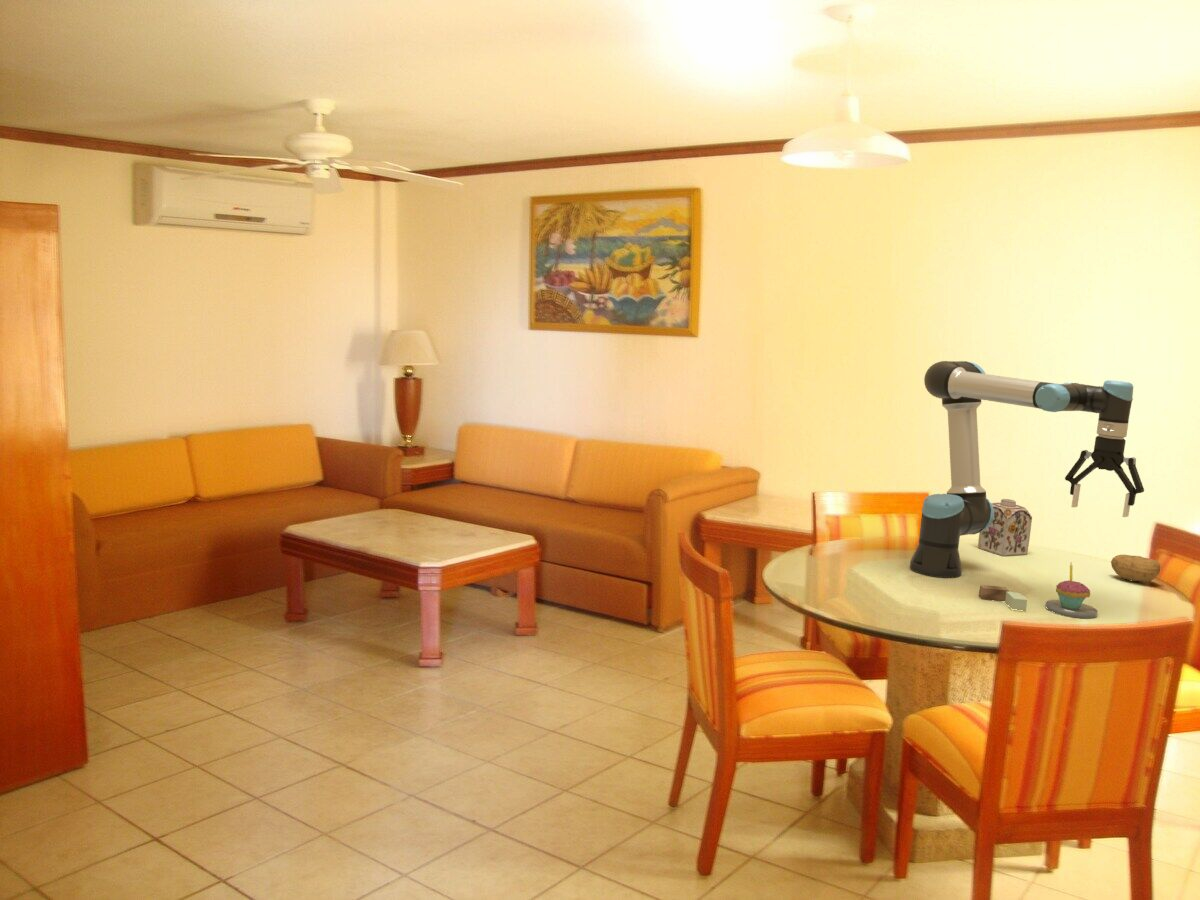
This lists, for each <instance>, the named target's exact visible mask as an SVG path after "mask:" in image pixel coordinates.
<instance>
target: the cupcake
mask: <svg viewBox="0 0 1200 900" xmlns="http://www.w3.org/2000/svg"><path fill="white" fill-rule="evenodd" d="M1073 567H1074V565H1073V564H1072V563H1070V565H1069V580H1064V581H1061V582H1058V583H1057V584H1056V586H1055V587H1056V588H1055V592H1056V593H1057V595H1058V598H1059V600H1060V603H1061V606H1063V607H1066V608H1070V609H1079V608H1080V606H1081V604H1084V601H1085V600H1086V599H1087V598H1089V597H1090V596H1091V590H1090V589H1089V588H1088V587H1087V586H1086V585H1085V584H1084V583H1082V582H1078V581H1076V580H1075V581H1074V580H1073Z"/></svg>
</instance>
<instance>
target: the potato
mask: <svg viewBox="0 0 1200 900" xmlns="http://www.w3.org/2000/svg"><path fill="white" fill-rule="evenodd" d="M1110 565H1111V568H1112V570H1113V571H1114V572H1115V574H1116V575H1117V576H1119V577H1121V579H1124V578H1125V579H1124V580H1126V579H1128V580H1127V581H1129V580H1132V581H1139V582H1138V583H1149V582H1151V581H1153V580H1155V579H1156V578H1157V577H1158V576H1159V575H1160V572H1161V569H1162V568H1161V563H1160V562H1159V561H1157V560H1155V559H1153V558H1148V557H1144V556H1140V555H1131V554H1118V555H1115V556H1114V557H1112V559H1111V561H1110ZM1132 581H1131V582H1132Z"/></svg>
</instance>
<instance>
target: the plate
mask: <svg viewBox="0 0 1200 900" xmlns="http://www.w3.org/2000/svg"><path fill="white" fill-rule="evenodd" d="M1044 604H1045V605H1044V607H1045V606H1046V607H1047V608H1048V609H1049V610H1051V611H1053V612H1055V613H1054V614H1056V613H1058V614H1057V615H1059V614H1061V615H1060V616H1063V615H1064V617H1069V618H1073V619H1074V618H1075V619H1084V620H1085V619H1087V620H1088V619H1095V618H1097V617H1098V613H1099V612H1098V609H1097V608H1095V607H1093V606H1091V605H1088V604H1087V603H1082V604H1081V606H1080V608H1079V609H1070V608H1066V607H1063V606H1061V603H1060V599H1049V600H1046V601H1045V603H1044ZM1049 610H1048V611H1049ZM1051 611H1050V612H1051ZM1053 612H1052V613H1053Z"/></svg>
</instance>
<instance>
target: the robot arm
mask: <svg viewBox="0 0 1200 900" xmlns="http://www.w3.org/2000/svg"><path fill="white" fill-rule="evenodd" d="M923 382H924V386H925V389H926V391H927V392H928V394H930V395H931V396H932V397H934V398H937V399H940V400H941V406H942V407H943V408H944V409H945V410H946V411H947V421H948V422H947V423H948V424H947V426H948V442H949V443H948V444H949V446H948V448H949V464H950V465H949V466H950V467H949V468H950V480H951V483H950V484H951V486H950V488H949V489H948V490H947V491H946V493H936V494H935V493H933V494H930V495H927V496H926V497H925V498H924V500H923V503H922V504H923V505H922V507H921V519H920V527H919V538H918V544H917V547H916V548H915V551H914V552H913V555H912V557H911V559H910V565H909V569H910V570H912V571H913V572H916V573H918V574H922V575H925V576H930V577H936V578H937V577H938V578H948V579H949V578H959V577H961V576H962V572H963V566H962V561H961V556H960V552H959V551H960V550H959V544H960V537H961V536H966V535H967V536H968V535H976V534H979V532H982V531H984V530H986V529H987V528H988V527H989V526H990V525H991V523H992V521H993V519H994V508H993V505H992V503H993V502H991V501H990V500H989V499H988V498H987V491H986V489H985V488H983V486H982V484H981V469H980V468H981V467H980V453H979V431H978V430H979V429H978V413H977V411H978V408H979V407H980V405H982V401H989V402H996V403H1001V404H1002V403H1003V404H1009V405H1014V406H1021V407H1027V408H1033V409H1039V410H1042V411H1045V412H1051V413H1057V412H1087V413H1093V414H1098V420H1097V425H1096V426H1097V427H1096V434H1097V436H1095V439H1094V440H1095V441H1094V447H1093V451H1089V450H1087V449H1085V450H1083V449H1082V450H1081V451H1080V455H1079V458H1078V459H1077V461H1076V462H1075V463H1074V465H1073V466H1072V467H1071V469H1070V470H1069V472H1068V473H1067V474H1066V475H1065V477H1064V480H1065V481H1067V482H1070V490H1069V493H1070V494H1069V495H1072V501H1071V508H1077V507H1078V505H1079V500H1080V499H1079V498H1080V491H1081V485H1082V484H1081V483H1079V482H1081V481H1082V480H1083V479H1084V478H1085V477H1087V476H1088V475H1090V473H1092V472H1093V471H1094V470H1096V469H1098V470H1106V471H1110V472H1112V471H1114V473H1116V475H1117V477H1118V478H1119V479H1120V481H1121V482H1122V484H1123V486H1124V487H1125V488H1126V490H1127V491H1128V492H1127V493H1126V494H1125V497H1124V498H1125V499H1124V505H1123V510H1122V517H1123V518H1127V517H1129V514H1130V508H1131V506H1134V505H1135V502H1136V497H1137V495H1138V494H1142V493H1144V492H1145V489H1144V485H1143V481H1141V477H1140V474H1139V471H1138V469H1137V465H1136V462H1137V458H1136V457H1134V456H1133V457H1125V456H1124V455H1125V447H1126V441H1127V440H1126V439H1125V438H1126V437H1127V435H1128V428H1129V419H1130V414H1131V410H1132V409H1131V408H1132V405H1133V404H1132V403H1133V402H1132V401H1133V400H1134V398H1133V396H1134V385H1133V384H1132V383H1131V382H1129V381H1122V380H1121V381H1119V380H1109V379H1108V380H1105V381H1104V382H1103V385H1101V386H1098V385H1097V386H1096V385H1090V384H1083V383H1078V382H1064V383H1054V382H1053V383H1052V382H1046V381H1045V382H1044V381H1038V380H1031V379H1030V380H1029V379H1022V378H1017V377H1016V378H1015V377H1010V376H1009V377H1008V376H1001V375H995V374H987V373H986V371H985V370H984V368H983V367H981V366H980V365H979V364H977V363H974V362H972V361H967V360H965V361H964V360H959V361H951V360H949V361H948V360H942V361H938V362H935V363H933V364H932V365H930V366H929V368H928V369H927V370H926V372H925V374H924V379H923ZM1090 457H1091V459H1092V461H1093V462H1092V463H1090V464H1089V465H1088V466H1087V467H1086V468H1085V469H1084V470H1083V471H1081V472H1080V473H1079V474H1078V475H1076V474H1077V472H1079V470H1080V469H1081V467H1082V466H1083V464H1084V463H1086V461H1087V459H1089V458H1090ZM1123 463H1125V465H1126V466H1128V467H1127V468H1128V471H1129V473H1130V476H1131V479H1132V481H1133V483H1132V481H1131V480H1130V478H1129V477H1128V475H1127V474H1126V472H1125V471H1124V468H1123V466H1122V464H1123Z"/></svg>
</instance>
